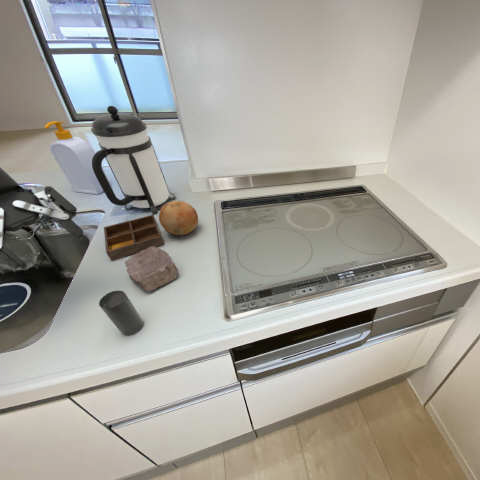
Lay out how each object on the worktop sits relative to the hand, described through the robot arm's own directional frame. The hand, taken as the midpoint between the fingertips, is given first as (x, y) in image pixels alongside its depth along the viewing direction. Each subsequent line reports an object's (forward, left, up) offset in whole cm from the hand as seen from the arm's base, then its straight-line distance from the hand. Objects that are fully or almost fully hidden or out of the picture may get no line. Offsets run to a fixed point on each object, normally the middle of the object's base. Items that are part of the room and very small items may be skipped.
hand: (54, 251), depth 45 cm
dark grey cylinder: (+5, -9, -16) cm, 19 cm away
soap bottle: (0, +59, -16) cm, 61 cm away
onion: (+21, +18, -16) cm, 32 cm away
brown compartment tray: (+9, +21, -16) cm, 28 cm away
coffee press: (+15, +38, -16) cm, 44 cm away
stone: (+11, +4, -16) cm, 20 cm away
